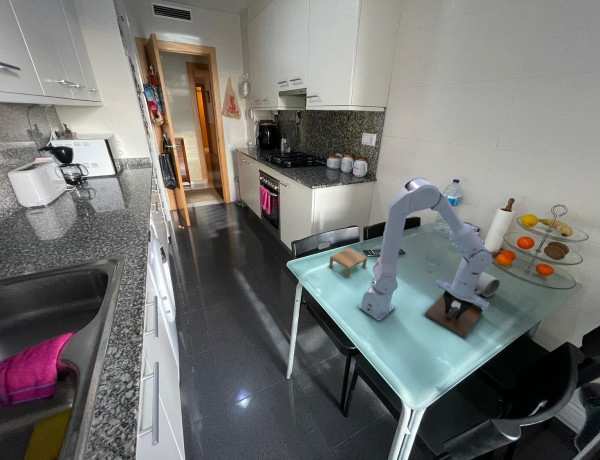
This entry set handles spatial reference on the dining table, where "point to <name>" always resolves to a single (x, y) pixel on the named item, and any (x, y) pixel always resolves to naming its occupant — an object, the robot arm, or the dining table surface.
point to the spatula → (453, 310)
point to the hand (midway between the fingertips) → (452, 314)
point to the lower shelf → (454, 325)
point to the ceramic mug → (487, 285)
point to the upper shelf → (348, 259)
